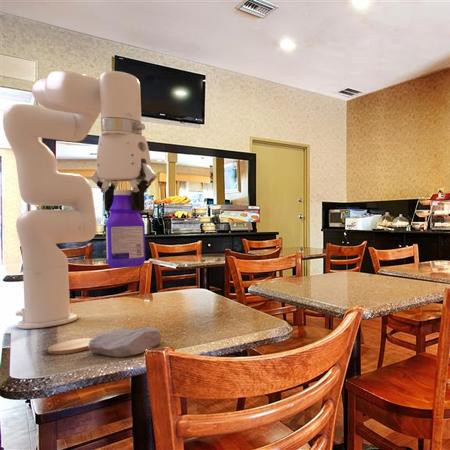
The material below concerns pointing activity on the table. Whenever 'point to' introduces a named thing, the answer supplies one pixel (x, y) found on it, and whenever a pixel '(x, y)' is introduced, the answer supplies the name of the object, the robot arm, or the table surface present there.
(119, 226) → the bottle
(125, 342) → the stone block
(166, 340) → the table surface
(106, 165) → the robot arm
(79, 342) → the cork coaster
